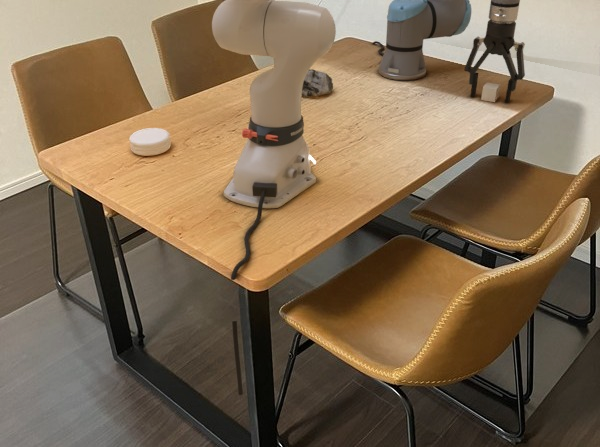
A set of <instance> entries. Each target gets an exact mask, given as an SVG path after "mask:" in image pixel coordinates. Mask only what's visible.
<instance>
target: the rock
mask: <svg viewBox="0 0 600 447" xmlns="http://www.w3.org/2000/svg"><path fill="white" fill-rule="evenodd" d="M333 90H334V83H333V78H332V77H331V76H330V75H329V74H328V73H327V72H324V71H319V70H315V69H313V68H312V69H311V68H310V69H309V71H308V72H307V74H306V76H305V79H304V82H303V87H302V97H312V96H314V97H318V96H324V95H328V94H330V93H331V92H332V91H333Z"/></svg>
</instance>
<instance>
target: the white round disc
mask: <svg viewBox="0 0 600 447" xmlns="http://www.w3.org/2000/svg"><path fill="white" fill-rule="evenodd" d="M170 136H171V135H170V132H169V131H168V130H166V129H164V128H160V127H147V128H142V129H139V130H136V131H134V132H133V133H131V134H130V135H129V139H128V141H129V145H130V150H131V151H132V153H134V154H135V155H138V156H142V157H143V156H145V157H146V156H147V157H151V156H152V157H153V156H157V155H161V154H163V153H165V152H168V150H169V149H170V148H171V146H172V142H171V137H170Z"/></svg>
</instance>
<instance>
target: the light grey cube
mask: <svg viewBox="0 0 600 447" xmlns="http://www.w3.org/2000/svg"><path fill="white" fill-rule="evenodd" d="M501 86H502V85H501V84H500V83H495V82H489V81H487V82H486V83H485V84H484V85H483V86H482V91H481V98H480V100H481V101H484V102H490V103H496V101H497V100H498V99H499V98H500V91H501Z"/></svg>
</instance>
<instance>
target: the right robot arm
mask: <svg viewBox="0 0 600 447" xmlns="http://www.w3.org/2000/svg"><path fill="white" fill-rule="evenodd" d="M520 2H521V0H490V4H489V11H488V21H487V25H486V31H485V36H484V37H480V36H476V37H475V38H474V39H473V43H472V49H471V51H470V53H469V56H468V59H467V61H466V63H465V66H464V69H463V70H464V71H465V72H466V73H467V72H468V73H469V78H468V79H469V80H468V84H469V85H471V89H470V97H471V98H473V97H475V95H476V94H477V87H478V80H479V72H477V71H478V70H479V68H480V67H481V66H482V64H483V63H484V62H485V61H486V59H487V58H488V56H489V55H497V56H502V58H503V60H504V62H505V65H506V68H507V70H508V73H509V76H510V78H509V79H508V82H507V88H506V93H505V99H504V103H505V104H506V103H507V104H508V103H509V102H510V101H511V96H512V92H514V91H515V90H516V88H517V82H518V81H520V80H523V79H524V78H525V76H526V74H525V73H526V72H525V60H524V58H525V57H524V48H525V45H526V44H525V42H524V41H522V42H517V41H515V32H516V27H517V22H516V21H517V20H518V15H519V9H520ZM471 18H472V4H471V3H470V0H392V1H391V2H390V3H389V5H388V10H387V15H386V20H387V22H386V37H385V38H386V39H385V46H384V45H383V43H381V42H380V41H378V40H375V41H373V42H372V45H375V44H377V45H379V46H380V48H379V49H378V51H377V52H378V54H379V55H381V56H382V58H381V61H380V63H379V66H378V73H379V75H380V76H381V77H384V78H386V79H389V80H394V81H414V80H420V79H422V78H424V77H426V74H427V65H426V60H425V56H424V51H423V48H424V47H423V46H424V40H429V39H437V38H438V39H439V38H445V37H446V38H451V37H453V36H458V35H460V34H462V33H463V32H465V31H466V29H467V28H468V27H469V24H470V22H471ZM482 44H484V46H485V48H486V49H485V51H484V52H483V53H482V54H481V56H480V57H479V59H478V60H477V61H476V63H475V64H474V66H472V65H473V63H474V61H475V59H476V56H477V53H478V52H479V49H480V46H482ZM513 47H514V51H516V54H515V56H516V65H517V66H515V64H514V61H513V57H512V53H511V49H512V48H513ZM384 49H385V50H384ZM383 50H384V52H382V51H383ZM516 67H517V68H516Z"/></svg>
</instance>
